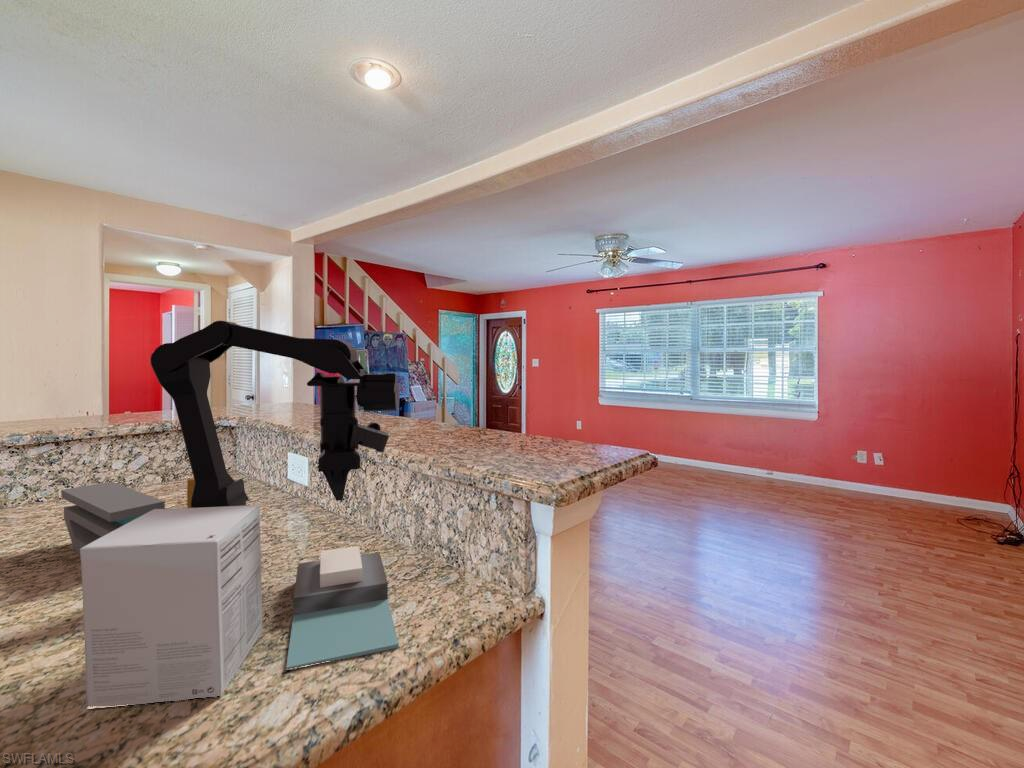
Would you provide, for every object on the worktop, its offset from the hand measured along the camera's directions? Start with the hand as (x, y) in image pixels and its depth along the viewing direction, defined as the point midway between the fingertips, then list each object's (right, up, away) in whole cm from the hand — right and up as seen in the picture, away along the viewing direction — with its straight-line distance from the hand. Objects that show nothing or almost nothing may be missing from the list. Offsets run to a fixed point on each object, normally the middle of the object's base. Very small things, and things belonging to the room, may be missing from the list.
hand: (339, 499), depth 82 cm
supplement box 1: (-9, -14, -26) cm, 31 cm away
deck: (+3, -13, -8) cm, 15 cm away
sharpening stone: (-45, -12, +6) cm, 47 cm away
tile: (+3, -8, -8) cm, 12 cm away
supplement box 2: (-40, -11, +23) cm, 47 cm away
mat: (+8, -13, -19) cm, 25 cm away
